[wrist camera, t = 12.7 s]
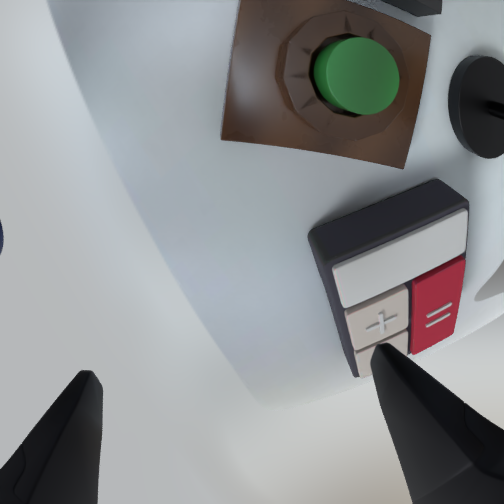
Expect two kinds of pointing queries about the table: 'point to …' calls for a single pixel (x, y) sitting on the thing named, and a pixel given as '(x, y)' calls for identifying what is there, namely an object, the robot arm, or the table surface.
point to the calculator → (395, 271)
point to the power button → (357, 75)
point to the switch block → (304, 86)
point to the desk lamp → (478, 105)
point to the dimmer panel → (418, 6)
